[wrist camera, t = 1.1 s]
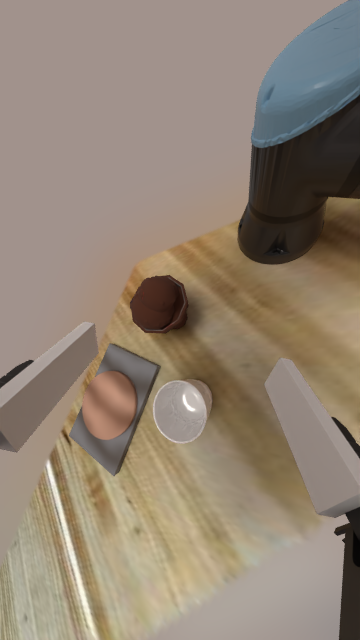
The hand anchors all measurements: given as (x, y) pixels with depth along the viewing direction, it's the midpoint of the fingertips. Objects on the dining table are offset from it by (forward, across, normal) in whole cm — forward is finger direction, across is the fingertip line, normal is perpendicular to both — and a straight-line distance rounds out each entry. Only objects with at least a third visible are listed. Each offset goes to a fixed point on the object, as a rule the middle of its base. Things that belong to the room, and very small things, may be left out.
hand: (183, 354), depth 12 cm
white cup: (+12, +4, -20) cm, 24 cm away
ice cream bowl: (+24, -2, -10) cm, 26 cm away
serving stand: (+13, -12, -28) cm, 33 cm away
